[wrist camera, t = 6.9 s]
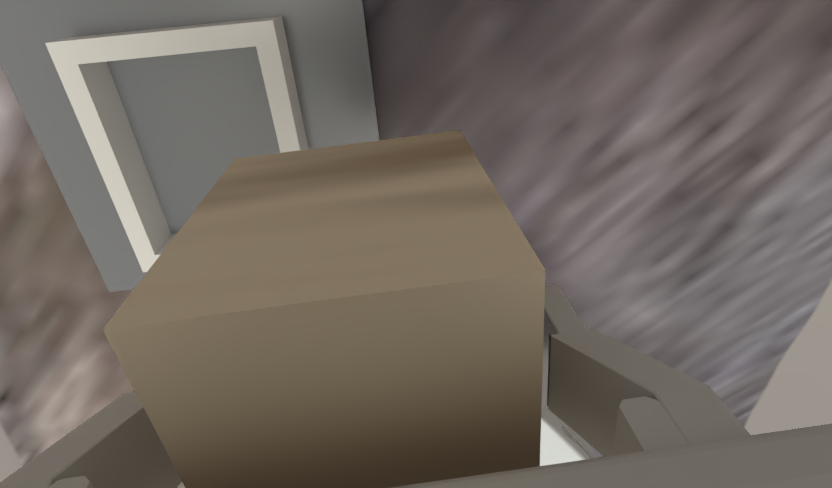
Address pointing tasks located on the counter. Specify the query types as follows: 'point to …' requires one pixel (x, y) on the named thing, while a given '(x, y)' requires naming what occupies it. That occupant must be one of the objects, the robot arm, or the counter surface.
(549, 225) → the counter surface
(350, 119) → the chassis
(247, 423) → the tan cardboard carton
